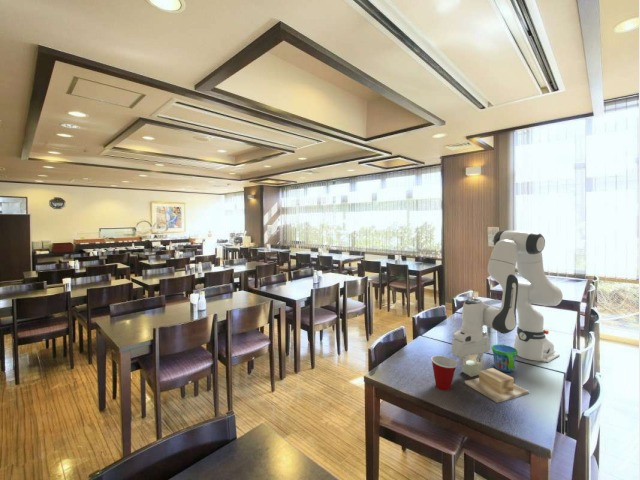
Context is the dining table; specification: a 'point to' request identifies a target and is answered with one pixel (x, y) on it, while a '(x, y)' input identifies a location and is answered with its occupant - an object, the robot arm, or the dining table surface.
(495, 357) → the snack cup
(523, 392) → the foundation base
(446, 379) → the plastic cup
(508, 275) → the robot arm
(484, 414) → the dining table surface
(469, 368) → the sage cube
